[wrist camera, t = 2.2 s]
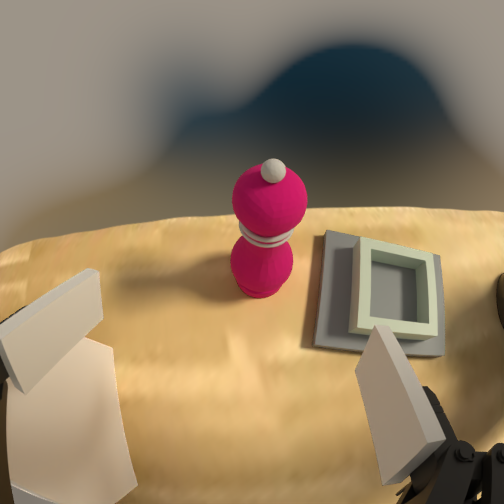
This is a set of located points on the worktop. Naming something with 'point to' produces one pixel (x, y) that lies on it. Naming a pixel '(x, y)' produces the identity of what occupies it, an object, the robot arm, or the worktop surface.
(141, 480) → the worktop surface
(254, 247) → the pepper mill
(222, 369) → the worktop surface
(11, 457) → the white notched cradle block
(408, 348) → the socket board
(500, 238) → the worktop surface
